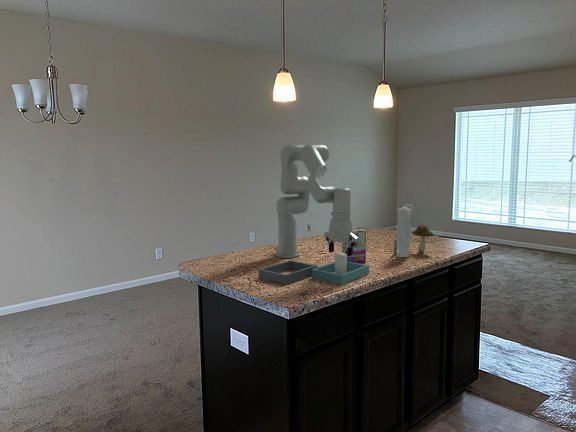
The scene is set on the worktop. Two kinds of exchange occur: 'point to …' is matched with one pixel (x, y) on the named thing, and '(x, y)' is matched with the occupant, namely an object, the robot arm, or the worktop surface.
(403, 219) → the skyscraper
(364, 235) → the candy bar box
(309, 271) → the bin
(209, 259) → the worktop surface
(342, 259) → the canister
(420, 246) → the mushroom
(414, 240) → the worktop surface
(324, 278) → the bin
